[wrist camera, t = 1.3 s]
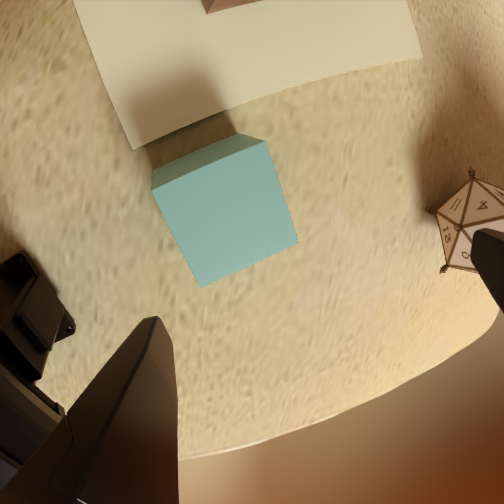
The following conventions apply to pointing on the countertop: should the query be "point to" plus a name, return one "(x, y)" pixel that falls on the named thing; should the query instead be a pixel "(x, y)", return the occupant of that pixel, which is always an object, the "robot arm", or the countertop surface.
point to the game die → (468, 219)
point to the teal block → (224, 206)
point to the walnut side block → (223, 4)
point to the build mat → (231, 52)
